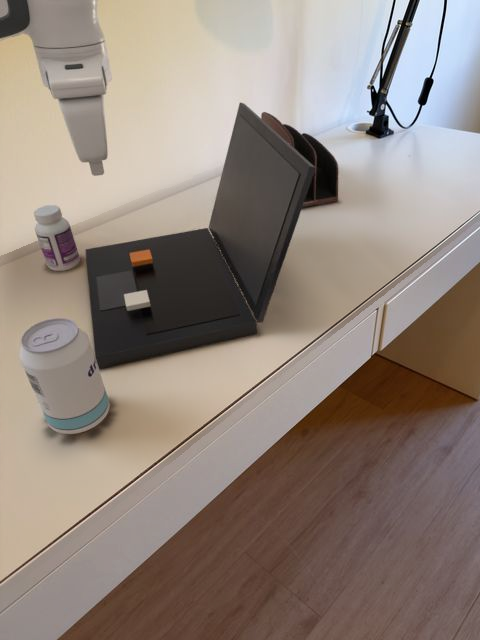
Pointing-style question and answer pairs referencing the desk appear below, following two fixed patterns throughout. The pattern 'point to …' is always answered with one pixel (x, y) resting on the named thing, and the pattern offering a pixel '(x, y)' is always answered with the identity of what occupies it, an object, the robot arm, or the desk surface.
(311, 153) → the letter holder
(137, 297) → the white flat square block
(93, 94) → the robot arm
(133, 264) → the orange block
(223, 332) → the laptop
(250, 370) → the desk surface
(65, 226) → the pill bottle
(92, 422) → the beverage can
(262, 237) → the laptop screen
